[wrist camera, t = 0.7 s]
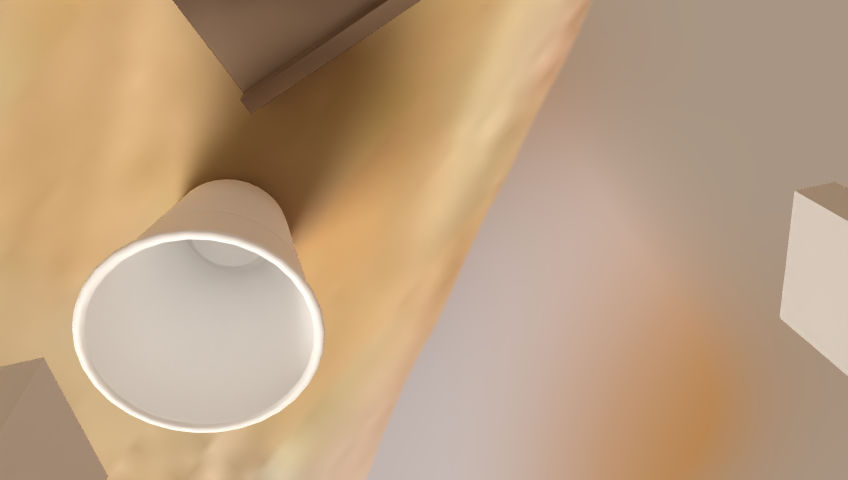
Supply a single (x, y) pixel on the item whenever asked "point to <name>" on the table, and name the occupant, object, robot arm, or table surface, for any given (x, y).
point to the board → (283, 37)
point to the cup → (202, 315)
